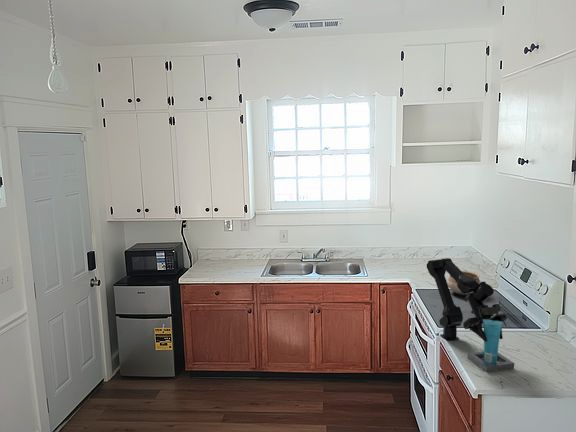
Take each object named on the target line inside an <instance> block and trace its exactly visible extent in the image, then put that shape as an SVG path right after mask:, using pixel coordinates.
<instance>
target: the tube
mask: <svg viewBox="0 0 576 432" xmlns="http://www.w3.org/2000/svg"><path fill="white" fill-rule="evenodd" d="M482 327H483V331H484V334H485V336H486V338H487V342H485V341H484V340H483V351H484V359H483V361H484V362H486V363H487V364H492V363H498V361H497V354H498V353H499V345H500V332H501V327H502V328H503V323H502V322H501V321H493V320H486V319H483V324H482Z"/></svg>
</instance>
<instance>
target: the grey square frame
mask: <svg viewBox="0 0 576 432" xmlns="http://www.w3.org/2000/svg"><path fill="white" fill-rule="evenodd" d="M467 359H468V360H469V361H470V362H471V363H472V364H474V365H475V364H476V365H475V366H477V367H478V368H480V369H481V370H482V371H483V370H484V372H485V373H486V372H487V373H493V372H501V371H507V370H508V371H509V370H514V369H515V362H513V361H512V360H510V359H509V358H507V357H505V356H504V355H503V354H502V353H500V352H498V354H497V363H492V364H487V363H486V362H484V350H482V351H474V352H468V353H467Z"/></svg>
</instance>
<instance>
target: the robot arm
mask: <svg viewBox="0 0 576 432" xmlns="http://www.w3.org/2000/svg"><path fill="white" fill-rule="evenodd" d="M426 269H427V271H428V273H429V275H430V276H431V277H432V278H433V279H434V281H435V285H436V286H437V287H436V288H437V291H438V294H439V297H440V300H441V302H442V305H443V310H442V313H441V314H442V317H440V319H439V320H438V322H439V325H440V326H441V327H442V328H443V330H442V334H441V333H440V335H439V336H440V337H442V339H444V340H446V341H447V342H448V341H455V340H460V337H458V336H457V335H458V333H457V332H458V331H457V329H458V328H457V327H461V325H463V328H464V330H469V331H471V332H473V333H475V335H477V336H478V337H479V338H480V339H482V340H483V342H484V341H485V342H487V338H486V336H485V334H484V328H483V319H486V320H493V321H501V322H502V324H503V323H505V322H506V321H507V320H508V317H507V314H505V313H499V312H501V311H502V309H501V306H500V305H499V303H494V304H492V305H491V306H490V307H489V305H488V304H485V301H487V300H488V299H490V297H492V296H493V295H494V293H495V292H494V288H493V287H492V286H491V285H490V284H488V283H487V281H485V280H484V281H480V284H479V283H477V281H476V280H474V279H473V278H471V277H469V276H466V275H465V274H464V273H463V272H462V271H463V270H461V269H460V268H459V267H458V266H457V265H456V264H455V263H454V262H453V260H452V259H451V258H449V257H445V258H440V259H432V260H431V259H430V260H428V261H427V263H426ZM446 272H447V274H450V275H451V276H452V278H453V279H454V280H455V281H456V282H457V287H458V288H459V290H460V291H461V292H462V293H471V294H469V295H466V296H464V297H465V298H464V302H468V304H469V307H470V308H471V311H470V312H471V314H472V315H474V317H469V318H467V319H466V320H464V315H463V312H462V310H461V307H460V306H457V305H456V304H455V303H454V300H453V296H452V294H451V291H450V290H451V289H450V288H449V287H448V284H447V279H446ZM450 275H449V276H450ZM472 292H474V293H472ZM463 320H464V321H463ZM462 322H463V324H462ZM502 329H503V326H502V327H501V332H500V338H499V340H503V339H504V337H503V330H502Z"/></svg>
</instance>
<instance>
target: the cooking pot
mask: <svg viewBox="0 0 576 432" xmlns="http://www.w3.org/2000/svg"><path fill="white" fill-rule="evenodd" d="M461 271H462V272H463V273H464V274H465V275H466V276H469V277H471V278H473V279H474V280H476V281H477V283H479V284H480V282H481V279H480V274H478V273H476V272H474V271H470V270H461ZM448 274H449V273H448ZM446 281H447V284H448V287H449V290H451V291H452V292H454V293H455V294H457V295H458V296H462V297H466V295H469V294H471V293H462V292H461V291H460V290H459V288H458V287H457V282H456V281H455V280H454V279H453V278H452V276H451V275H450V274H449V276H448V278H447V279H446ZM472 293H474V292H472Z"/></svg>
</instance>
